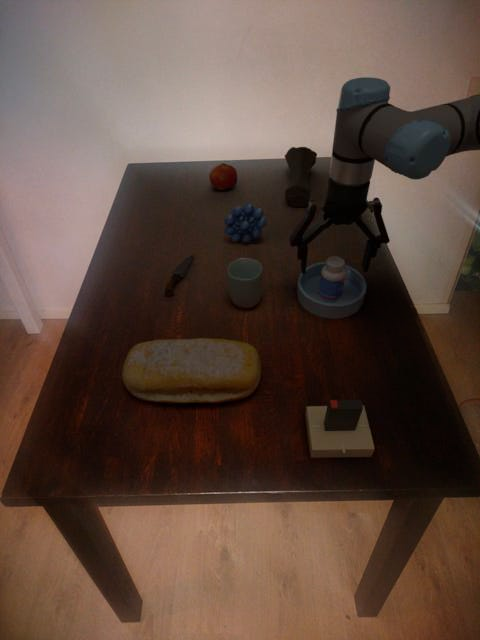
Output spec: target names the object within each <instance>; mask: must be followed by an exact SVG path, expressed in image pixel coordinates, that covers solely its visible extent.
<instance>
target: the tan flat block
mask: <svg viewBox="0 0 480 640" xmlns="http://www.w3.org/2000/svg"><path fill="white" fill-rule="evenodd" d="M327 406H328V405H314V406H313V405H310V406H306V408H305V415H304V416H305V424H306V432H307V440H308V448H309V455H310V456H309V457H310V459H315V458H318V459H320V458H321V459H322V458H326V459H327V458H372V456H373V454H374V452H375V444H374V440H373V436H372V432H371V428H370V424H369V420H368V415H367V412H366V407H365V404H364V405H363V404H362V406H363V410H362V413H361V416H360V418H359V421H358V424H357V427H356V430H355V431H325V428H324V419H325V414H326V410H327Z"/></svg>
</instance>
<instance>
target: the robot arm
mask: <svg viewBox="0 0 480 640" xmlns="http://www.w3.org/2000/svg"><path fill="white" fill-rule="evenodd" d="M390 92H391V85H390V84H389V83H388V82H387V80H385V79H382V78H378V77H370V76H369V77H368V76H366V77H365V76H364V77H356V78H352V79H349V80H347V81H345V82H344V83H343V84H342V87H341V89H340V93H339V98H338V104H337V108H336V117H335V124H334V133H333V142H332V150H331V158H330V164H329V170H328V171H329V172H328V176H329V177H328V179H327V186H326V195H325V199H324V200H323V202H316V201H315V199H309V201H308V203H307V207H306V208H307V209H306V211H305V212H304V214H303V216H302V217H301V219H300V220H299V222H298V223H297V225H296V227H295V228H294V230H293V231H292V233H291V234H290V236H289V243H290V247H292V248H293V247H297V251H296V255H297V260H298V261H300V270H301V272H302V274H305V273H306V268H307V264H308V262H307V261H308V255H309V248H308V245H309V244H311V242H313V241H314V240H315V239H316V238H317V237H318V236H319V235H320V234H321V233H322V232H324V231H325V229H329V228H330V227H331V226H332V225H334V226H340V225H346V226H347V225H348V226H351V224H353V223H355V225H356V226H357V227H358V228H360V230H361V231H362V232H363V233H364V235H365V236H366V237H367V238H368V239H367V240H366V243H365V248H364V252H363V257H362V261H361V266H362V270H363V272H364V273H368V272H369V269H370V264H371V260H372V259H373V258H376V256H377V254H378V251H379V249H381V247H382V244H385V245H386V244H389V243H390V241H391V240H390V237H389V233H388V231H387V228H386V224H385V222H384V221H385V220H384V218H383V214H382V213H383V211H382V210H383V204H382V202H381V200H380V198H379V197H374V198H373V199H372V200H369V201H367V199H368V195H369V190H370V185H371V179H372V178H373V173H374V167H375V162H378V163H379V164H381V165H383V166H385V168H388V169H389V170H390V171H391V172H392V173H394V174H398V175H401V176H404V177H405V178H408V179H410V180H422V179H424V178H428V177H429V176H430V175H431V173H432V172H433V171H437V170H438V168H440V166H441V165H442V164H443V162H444V161H445V159H446V157H449V156H452V155H456V154H459V153H464V152H470V151H471V152H472V151H480V93H479V94H474V95H471V96H469V97H465V98H461V99H457V100H454V101H451V102H447V103H441V104H437V105H433V106H429V107H425V108H421V109H417V110H414V111H413V110H412V111H408V110H406V109H402V108H399V107H398V106H395V105H393V104H391V103H390V102H389V101H390V99H391V97H390ZM367 210H369V212H370V213H371V214H373V217H374V220H375V224H376V225H377V228H378V232H379V235H377V234H376V232H375V231H374V230H373V228H372V227H371V226H370V224H368V222H367V221H366V219H364V217H363V214H364V213H365V212H366V211H367ZM321 211H322V212H323V213H322V214H321V215H320V217H319V219H317V220H316V221H315V223H313V224H312V222H313V221H314V219H315V216H317V215H319V213H320V212H321ZM311 224H312V225H311ZM310 225H311V226H310ZM309 226H310V227H309Z"/></svg>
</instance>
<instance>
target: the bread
mask: <svg viewBox="0 0 480 640" xmlns="http://www.w3.org/2000/svg"><path fill="white" fill-rule="evenodd" d="M261 373H262V364H261V359H260V357H259V353H258V351H257V349H256V347H254V346H253V344H250V343H249V342H244V341H239V340H234V339H225V338H207V337H198V338H195V337H194V338H178V339H154V340H149V341H143V342H139V343H137V344H135V345H134V346H132V347H131V348H130V350H129V351H128V352H127V355H126V358H125V360H124V361H123V365H122V371H121V378H122V381H123V384H124V386H125V387H126V390H127V391H128V392H129V394H131V395H132V396H133V397H135V398H137V399H139V400H141V401H145V402H153V403H166V404H183V405H185V404H219V403H226V402H234V401H239V400H243V399H246V398H247V397H249V396H251V395H252V394H253V393H254V392H255V390H257V388H258V386H259V384H260V379H261Z"/></svg>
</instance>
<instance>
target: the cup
mask: <svg viewBox="0 0 480 640" xmlns="http://www.w3.org/2000/svg"><path fill="white" fill-rule="evenodd" d="M226 271H227V272H226V274H227V275H226V276H227V286H228V287H227V288H228V292H229V297H230V299H231V301H232V303H233V304H234V305H235V306H236V307H239V308H242V309H252V308H255V306H257V305H258V304H259V302H260V301H261V298H262V294H263V287H264V268H263V264H262V263H261V262H260V261H259V260H257V259H254V258H250V257H240V258H237V259H234V260H233V261H231V262H230V263H229V265H228V267H227V270H226Z"/></svg>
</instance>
